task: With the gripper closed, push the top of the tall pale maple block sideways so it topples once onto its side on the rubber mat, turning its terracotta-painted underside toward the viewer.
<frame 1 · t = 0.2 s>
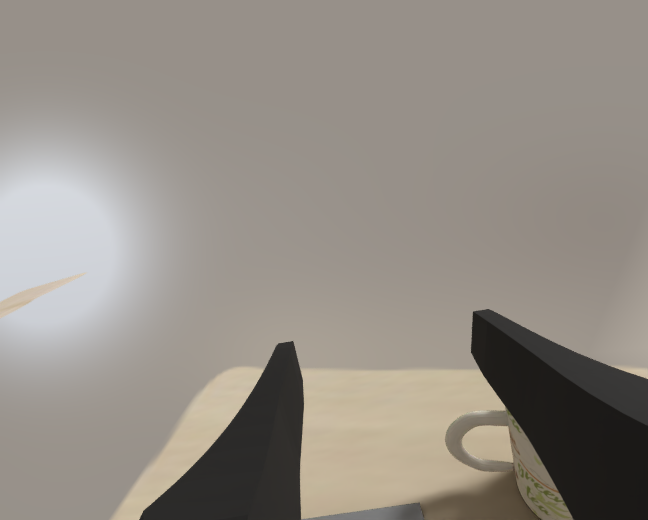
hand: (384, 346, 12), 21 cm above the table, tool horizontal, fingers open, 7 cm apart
mug: (530, 492, 26), on the table
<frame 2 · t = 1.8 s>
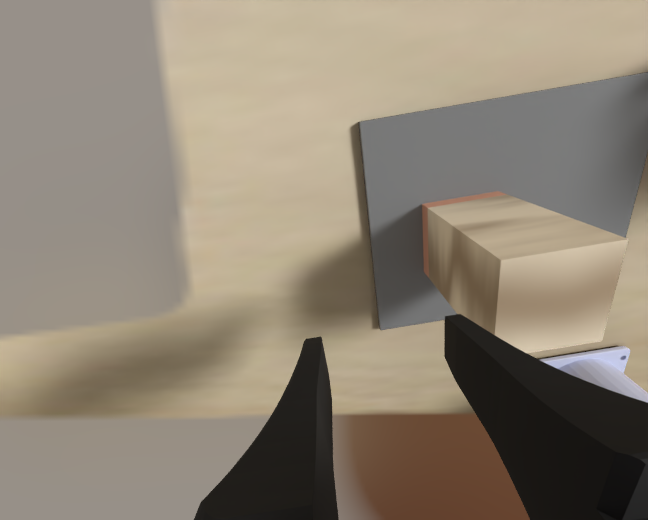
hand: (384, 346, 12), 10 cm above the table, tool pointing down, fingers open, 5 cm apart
mat: (499, 217, 22), on the table
block: (459, 233, 21), resting on mat
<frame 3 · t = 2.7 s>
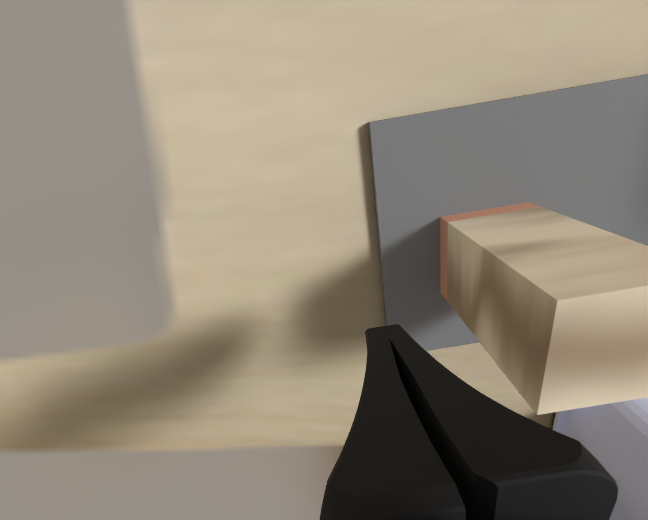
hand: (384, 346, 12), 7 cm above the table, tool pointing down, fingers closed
mat: (527, 231, 19), on the table
block: (481, 249, 19), resting on mat
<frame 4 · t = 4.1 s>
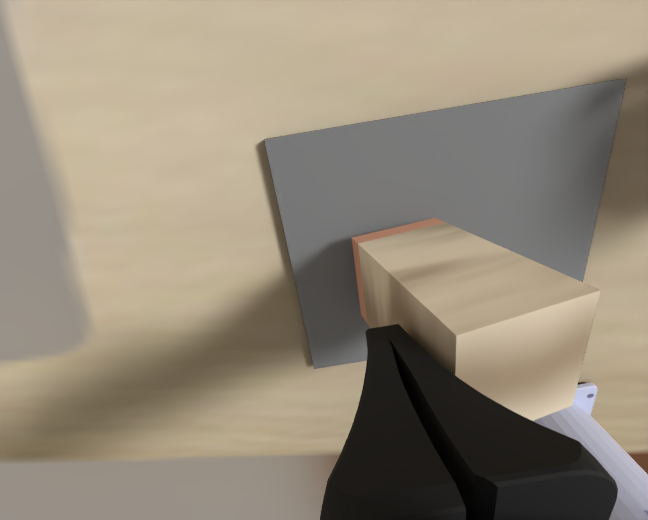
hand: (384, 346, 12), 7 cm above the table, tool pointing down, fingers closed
mat: (440, 245, 19), on the table
block: (396, 267, 18), point 1 cm above the table, tilted 11°, touching mat
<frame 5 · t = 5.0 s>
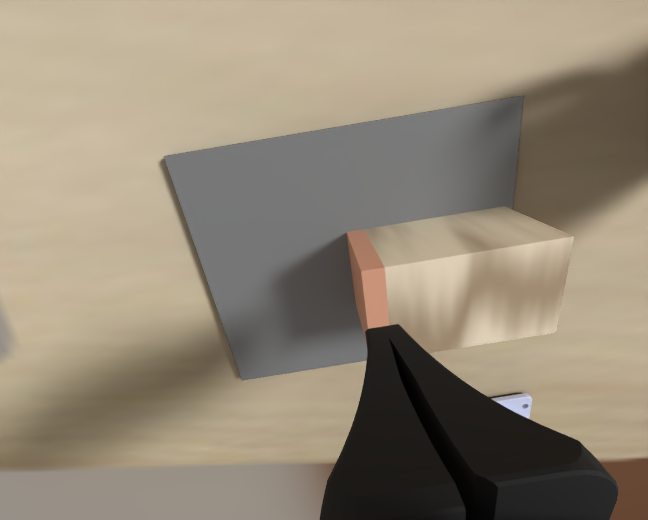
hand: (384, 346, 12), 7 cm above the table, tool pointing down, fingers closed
mat: (357, 259, 19), on the table
block: (358, 292, 16), point 3 cm above the table, tilted 90°, touching mat
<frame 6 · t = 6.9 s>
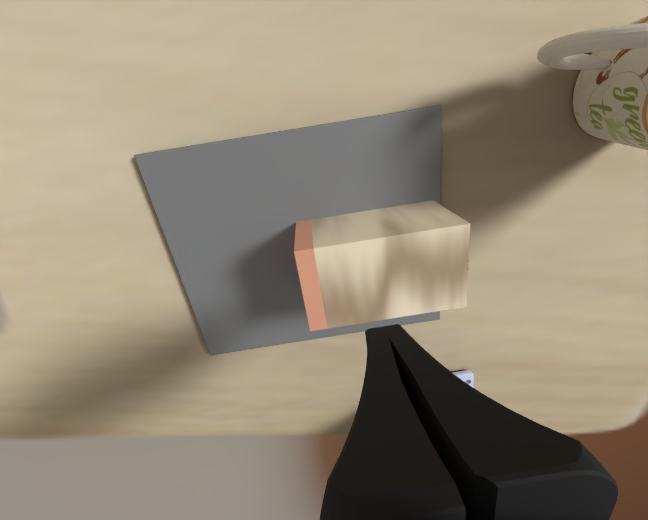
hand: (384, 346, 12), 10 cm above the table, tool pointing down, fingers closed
mug: (586, 81, 19), on the table
mat: (308, 246, 22), on the table
block: (302, 273, 19), point 3 cm above the table, tilted 90°, touching mat
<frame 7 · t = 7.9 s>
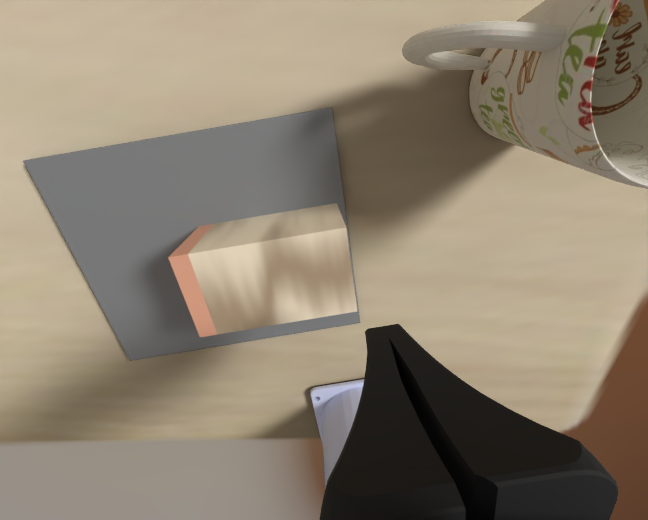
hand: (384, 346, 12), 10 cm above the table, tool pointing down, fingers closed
mug: (482, 81, 18), on the table
mat: (217, 250, 21), on the table
block: (199, 278, 19), point 3 cm above the table, tilted 90°, touching mat
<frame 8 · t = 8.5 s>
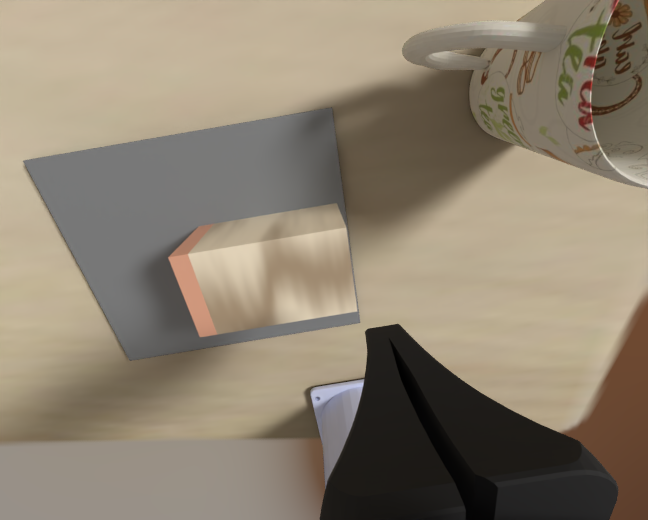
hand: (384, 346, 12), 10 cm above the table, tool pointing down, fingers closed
mug: (482, 81, 18), on the table
mat: (217, 250, 21), on the table
block: (199, 278, 19), point 3 cm above the table, tilted 90°, touching mat
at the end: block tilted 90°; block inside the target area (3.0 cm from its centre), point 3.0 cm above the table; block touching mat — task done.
